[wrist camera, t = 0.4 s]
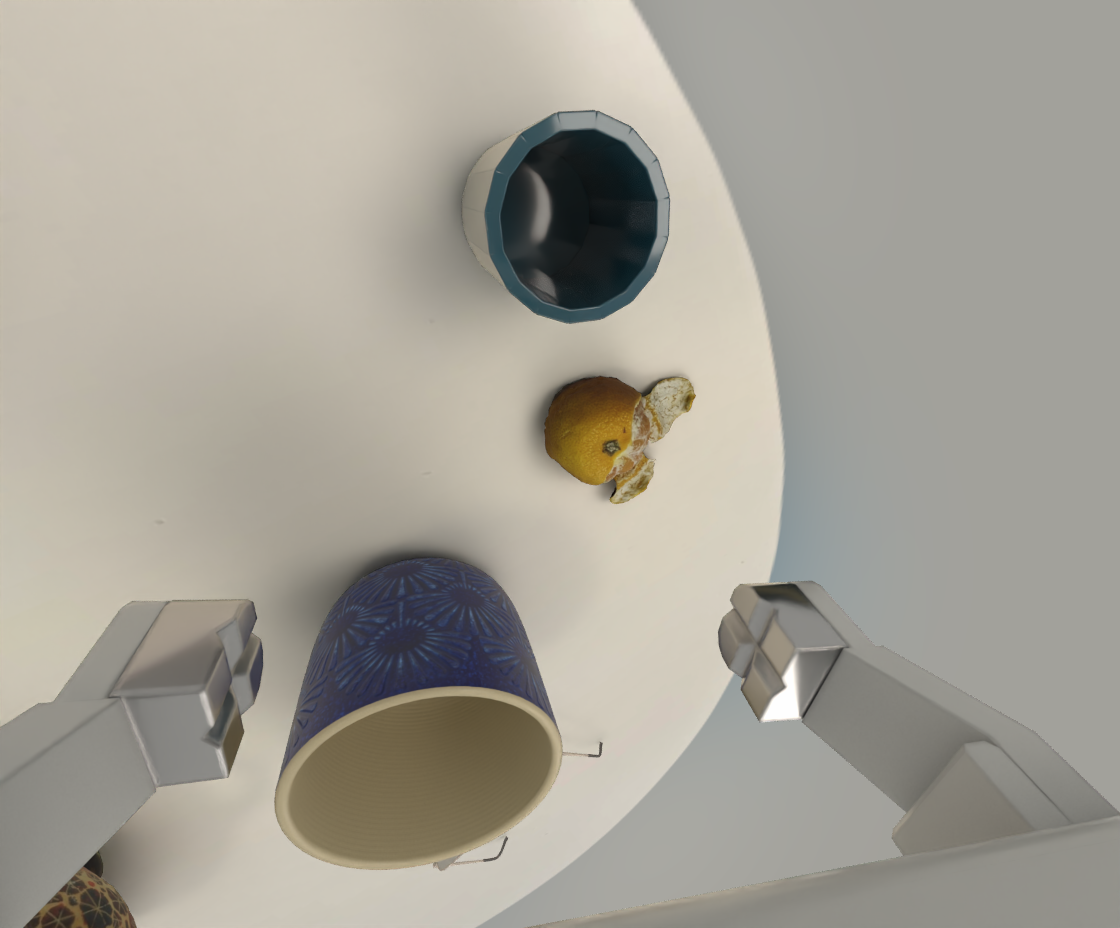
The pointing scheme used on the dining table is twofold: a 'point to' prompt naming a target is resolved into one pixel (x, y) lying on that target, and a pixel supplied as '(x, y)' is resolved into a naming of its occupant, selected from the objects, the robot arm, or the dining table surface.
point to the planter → (416, 722)
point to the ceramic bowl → (85, 903)
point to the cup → (569, 215)
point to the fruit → (612, 430)
